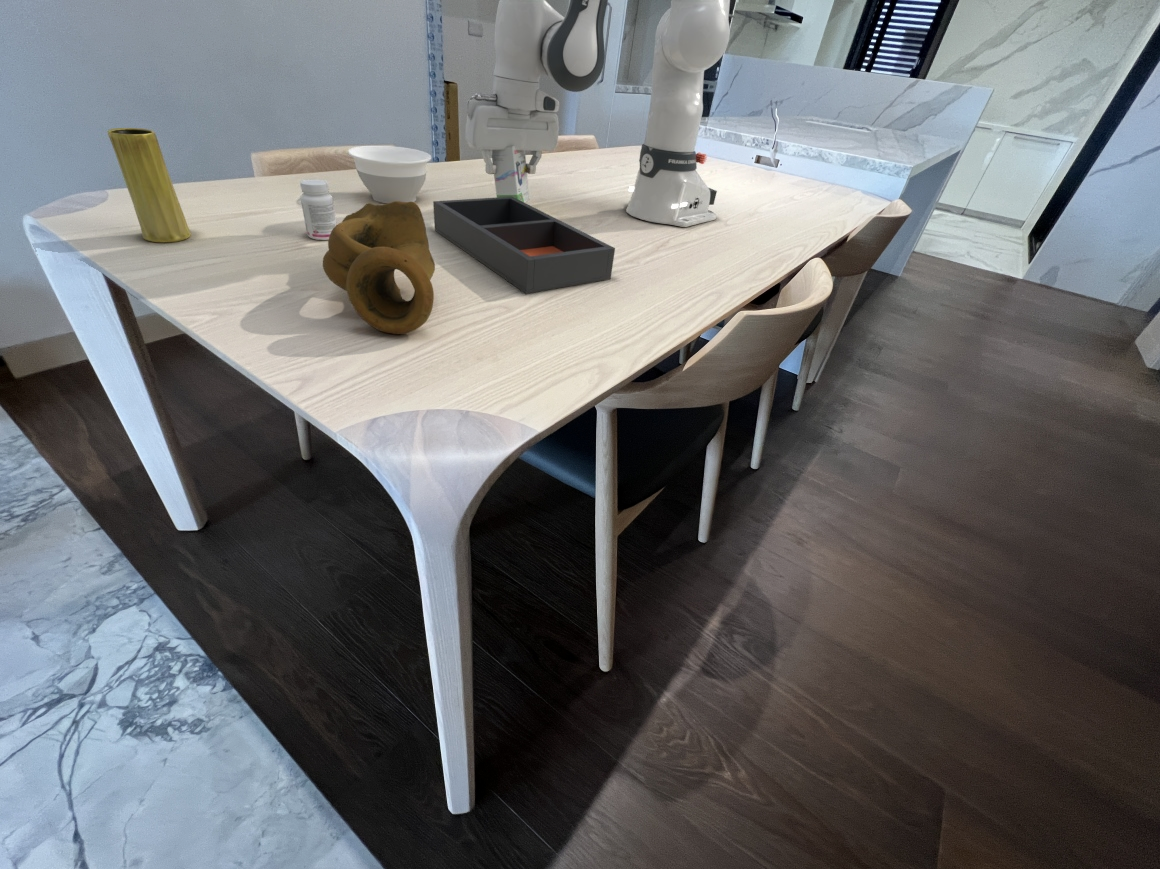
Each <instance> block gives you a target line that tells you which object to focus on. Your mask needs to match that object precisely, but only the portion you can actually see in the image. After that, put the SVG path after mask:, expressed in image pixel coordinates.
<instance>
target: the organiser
mask: <svg viewBox="0 0 1160 869" xmlns="http://www.w3.org/2000/svg"><path fill="white" fill-rule="evenodd" d="M432 205H433V207H432V208H433V222H434V231H435V232H436V233H438V234H439V235H441V236H442V237H444V238H445V239H446V240H448V241H449V242H451V243H453V244H454V245H455V246H456V247H458V248H459V249H461V250H462V251H464V252H465V253H467V254H468V255H469V256H471V257H472V258H474V259H475V260H476V261H478V262H479V263H481V264H482V265H484V266H485V267H487V268H488V269H490V271H493V272H494V273H495V274H497V275H498V276H500V278H502V279H504V280H505V281H507V282H508V283H510V285H513V287H515V288H517V289H519V290H520V291H521V292H523V293H524V294H526V295H528V294H534V293H539V292H544V291H545V292H546V291H550V290H551V291H552V290H557V289H562V288H567V287H574V286H579V285H585V284H591V283H597V282H603V281H607V280H611V279H612V274H613V273H612V272H613V266H614V259H615V251H616V248H615V247H614V246H611V245H610V244H608V243H606V242H604V241H601V240H600V239H598V238H596V237H594V236H592V235H590V234H587V233H586V232H584V231H583V230H580V229H579V228H576V227H574V226H572V225H570V224H568V223H566V222H564V221H562V220H560V219H558V218H556V217H554V216H553V215H552V216H551V215H550V214H548V213H546V212H544V211H542V210H540V209H538V208H536V207H534V206H533V205H530V204H528V203H527V202H526V203H524V202H522V201H520V200H518V199H516V198H514V197H497V196H496V197H482V198H466V199H465V198H464V199H449V200H433V201H432Z"/></svg>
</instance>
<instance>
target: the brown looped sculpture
mask: <svg viewBox="0 0 1160 869" xmlns="http://www.w3.org/2000/svg"><path fill="white" fill-rule="evenodd" d="M327 241H328V242H327V247H328V250H327V251H326V252H325V253H324V255H323V258H322V269H323V272H324V273H325V275H326V277H327V278H328V279H329V280H330V281H331V282H332V283H333V284H334V285H336V286H337V287H339V288H341V289H342V290H344V291H346V293H347V298H348V301H349V303H350V304H351V305H352V307H353V309H354V310H355V312H356V313H357V314H358V316H359V317H360V318H361V319H362V320H363V321H364V322H365V323H367V325H369V326H371V327H372V328H374V329H376V330H377V331H379V332H382V333H385V334H393V335H405V334H408V333H411V332H414V331H416V330H417V329H419V328H420V327H422V326H423V325H424V324H425V323H426V322H427V321H428V319H429V317H430V316H431V314H432V311H433V306H434V300H435V297H434V296H435V294H434V293H435V292H434V287H433V284H432V282H431V280H432V278H433V275H434V273H435V272H436V271H435V270H436V263H435V260H434V258H433V255H432V253H431V251H430V246H429V244H430V243H429V239H428V235H427V228H426V224H425V219H424V216H423V213H422V210H421V207H420V206H419V205H418V204H417V203H416V202H400V201H394V202H391V203H383V204H374V203H371V202H367V203H366V204H365V205H364V206H363V207H361V208H359V209H358V210H356V211H355V212H352V213H350V214H347V215H346V216H344V218H343V220H342V221H341V222H340V223H337V225H336V226H335V227H334V228H333V230H332V231H331V234H330V237H329V240H327ZM396 270H398V271H400V272H401V273H402V274H404V276H406V278H407V279H408V280H409V281H410V283H411V285H412V287H413V290H414V292H413V296H412V297H411V299H410V300H406V299H404V298H403V297H402V295H401V289H400V287H399V286H398V285H397V282H396V280H395V271H396Z"/></svg>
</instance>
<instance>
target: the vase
mask: <svg viewBox="0 0 1160 869" xmlns="http://www.w3.org/2000/svg"><path fill="white" fill-rule="evenodd" d="M106 132H107V135H108V138H109V141H110V143H111V145H112V147H113V151H114V153H115V157H116V159H117V163H118V165H119V168H120V171H121V174H122V178H123V180H124V182H125V186H126V189H127V191H128V193H129V197H130V200H131V203H132V205H133V208H134V209H133V210H134V212H135V214H136V217H137V220H138V225H139V226H140V227H139V228H140V229H141V233H142V234H141V237H142V238H143V239H144V240H145V241H149V242H152V243H175V242H181V241H184V240H187V239H189V238H191V235H192V232H191V230H190V227H189V225H188V223H187V220H186V217H185V215H184V212H183V209H182V206H181V204H180V201H179V199H178V196H177V193H176V190H175V187H174V184H173V182H172V179H171V177H170V176H171V175H170V174H169V171H168V167H167V164H166V162H165V159H164V155H163V152H162V150H161V146H160V144H159V140H158V138H157V134H156V132H155V130H152V129H147V128H141V127H113V128H110V129H108V130H107V131H106Z"/></svg>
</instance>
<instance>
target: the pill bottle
mask: <svg viewBox="0 0 1160 869" xmlns="http://www.w3.org/2000/svg"><path fill="white" fill-rule="evenodd" d="M299 184H300V190H301V195H300V203H301V209H302V213H303V219H304V224H305V230H306V234H307V236H308V238H310V239H313V240H317V241H329V237H330V234H331V231H332V230H333V228H334V227H335V226H336V225H338V223H337V218H336V211H335V205H334V198H333V196H332V195H331V194H330V188H329V184H328V181H327V180H325V179H324V180H323V179H317V178H310V179H309V178H308V179H303V180H300V182H299Z"/></svg>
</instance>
